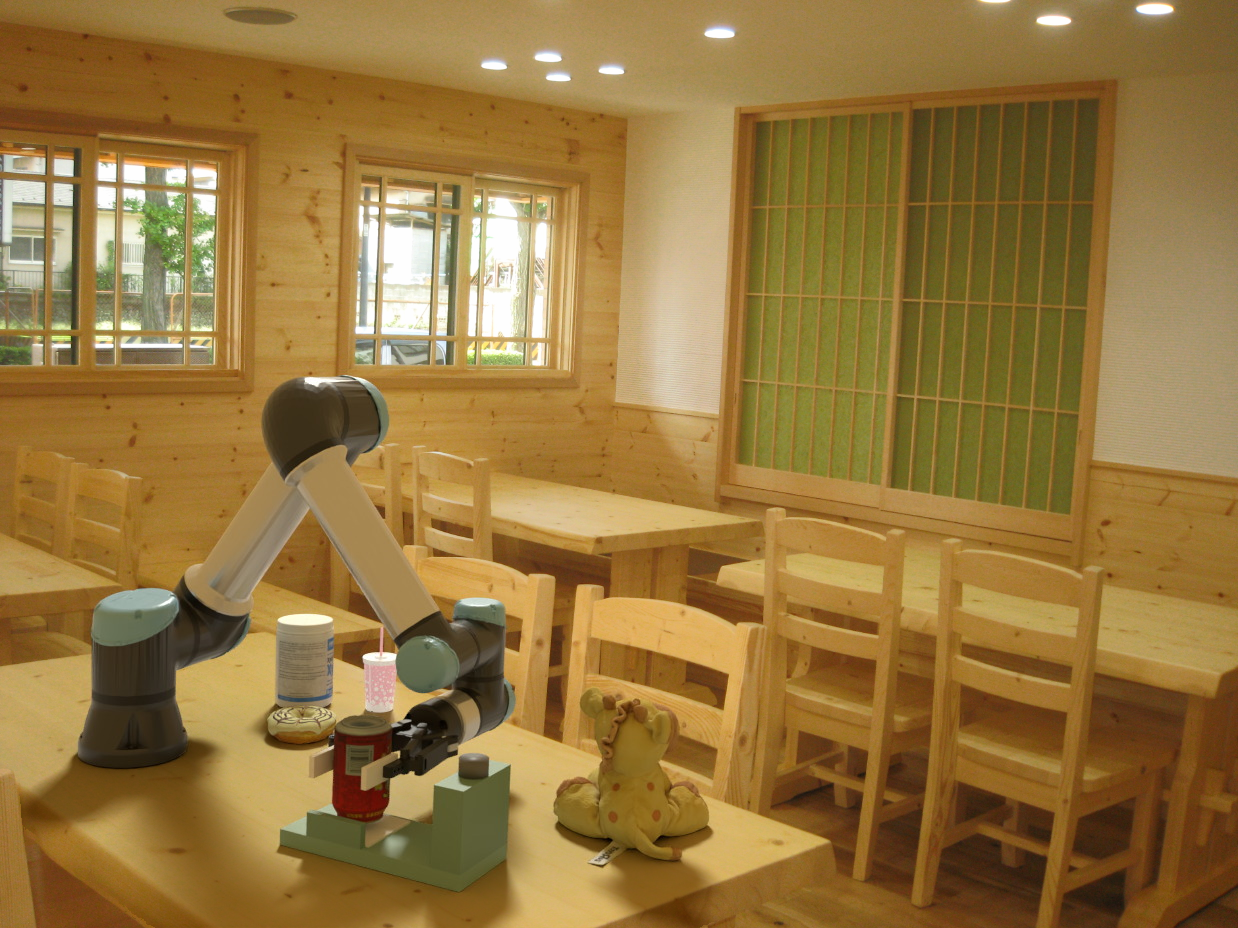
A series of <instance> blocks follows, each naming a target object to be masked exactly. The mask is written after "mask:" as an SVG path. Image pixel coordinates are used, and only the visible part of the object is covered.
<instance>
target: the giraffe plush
mask: <svg viewBox="0 0 1238 928" xmlns="http://www.w3.org/2000/svg"><path fill="white" fill-rule="evenodd" d="M579 708H580V709H581V711H582V712H583V714H584V715H586V716H588V717H590V718H591V719H594V720H595V721H594V726H593V727H594V728H593V729H594V731H593V732H594V737H595V742H596V745H597V748H598V751H599V753H600V755H601V762H600V763H599V765H598V767H596V768H595V769H593V770H592V771H591V772H589V774H588V775H587V777H584V776H575V777H574V778H571V779H570V778H567V779H564V780H563V781H562V782H561V784H559V786H558V788H557V789H556V793H555V794H556V797H555V799H554V800H553V801H554V802H553V811H552V812H553V814H554V815H555V816H556V817H557V820H558V821H559V823H560V824H561V825H563V826H564V827H565V828H567V829H569V830H570V831H572V832H574V833H577V834H580V835H583V836H586V837H589V838H594V839H608V838H609V839H611V840H612V841H611V842H610V843H609V844H608V845H607V846H606V847H604V848H603V849H602V850H600V852H598V853H597V854H596V855H595V856H593V857H592V858H590V859H588V861H587V864H588V865H589V864H590V865H595V866H605V865H606V864H608V863H610V862H611V861H613V860H614V859H615V858H616V857H618V856H620V855H621V854H623V853H624V852H625V851H626V850H627V849H635V850H638V851H639V852H641V853H642V854H643V855H646V856H648V857H650V858H653V859H657V860H663V861H671V862H672V861H674V862H675V861H677V860H680V859H681V858H682V857H683V851H682V849H680V848H678V847H674V846H664V847H660V846H657V845H655V844H654V843H655V842H656V840H657V839H658V838H659V837H660V836H664V837H676V836H677V837H681V836H684V835H688V834H689V835H690V834H692V833H695V832H697V831H698V830H702V829H704V828H705V827H707V826H708V824H709V822H710V811H709V808H708V804H707V803H706V801H705V800H704V798H703V797H702V796H701V795H700V792H699V788H698V786H696V784H694V783H693V782H692V781H689V780H683V781H678V782H675V783H673V782H672V780H671V779H670V777H669V775H668V773H667V771H666V770H665V769H663V768H662V766H661V764H660V761H661V760H662V759H663V757H664V755H666V754H668V753H670V752H672V751H674V749H675V748H676V746H677V744H678V741H679V738H680V730H681V729H680V728H681V727H680V724H679V723H680V722H679V720H678V717H677V714H675V712H674V711H673V710H672V709H671V708H670V707H669V706H666V705H664V704H660V703H657V702H652V701H650V700H648V699H644V698H640V697H631V698H630V697H629V698H624V699H621V700H618V701H617V700H616V698H615V696H613V695H612V694H609V693H605V694H604V692H603V690H602V689H600V687H598V686H590V687H588V688H587V689H586V690H584V691H583V693H582V694H581V696H580V698H579Z"/></svg>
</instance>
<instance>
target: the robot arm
mask: <svg viewBox="0 0 1238 928" xmlns="http://www.w3.org/2000/svg"><path fill="white" fill-rule="evenodd" d="M388 409H389V408H388V404H387V401H386V399H385V397H384V395H383V394H382V392H381V391H380V390H379V388H377V387H376V385H374V384H372V382H370V381H368V380H367V379H364V378H361V377H358V376H356V377H355V376H353V375H346V374H341V375H337V376H297V377H293V378H292V379H287V380H285V381H284V382H282V383H281V384H279V385H278V386H276V387H275V389H273V390H272V391H271V393H270V394H269V396H268V397H267V399H266V401H265V403H264V406H263V408H262V410H261V411H262V413H261V420H260V425H261V426H260V428H261V434H262V438H263V439H262V440H263V443H264V445H265V448H266V451H267V453H268V455H269V457H270V459H271V462H270V464H269V465H268V466H267V468H266V470H265V471H264V473H263V474H262V475H261V477H260V479H258V481H257V483H256V484H255V485H254V488H253V489H252V491H251V492H250V494H249V495H248V496H247V498H246V499H245V501H244V503H243V504H242V505H241V507H240V509H238V511H237V513H236V514H235V516H233V519H232V520H231V522H230V523H229V525H228V526H227V528H226V529H225V531H224V532H223V534H222V535H221V537H220V538H219V540H218V541H217V542H216V544H215V545H214V547H213V548H212V550H211V551H210V553H209V554H208V556H207V557H206V559H205V560H204V562H203V563H197V564H196V563H195V564H193V565H191V566H189V567H188V568H187V569H186V570H185V572H184V573H183V575H182V577H180V579H179V581H178V582H177V584H176V586H175V587H174V588H173V590H171V591H170V590H167V589H164V588H157V587H150V588H149V587H146V588H136V589H134V590H131V589H130V590H127V589H126V590H124V591H120V592H116V593H113V594H111V595H108V596H106V597H105V598H104V597H103V599H101V600H100V601H99V602H97V604H96V605H95V607H94V609H93V612H92V613H93V614H92V625H91V626H90V637H91V697H90V699H91V700H90V701H91V702H90V706H89V709H88V713H87V715H86V717H85V721H84V726H83V730H82V731H81V733H80V734H79V737H78V739H77V757H78V758H79V759H80V760H81V761H82V762H84V763H86V764H89V765H92V766H96V767H102V768H103V767H104V768H111V769H115V768H117V769H119V768H121V769H123V768H124V769H126V768H142V767H148V766H149V767H150V766H153V765H159V764H163V763H166V762H170V761H173V760H175V759H178V758H179V757H181V756H182V755H183V754H185V753H186V752H187V750H188V732H187V729H186V728H185V726H184V724H183V718H182V715H181V710H180V707H179V705H178V701H177V698H176V697H177V695H176V693H177V692H176V691H177V689H176V686H177V671H180V670H181V669H184V668H188V667H191V666H193V665H196V664H200V663H203V662H206V661H209V660H213V659H218V658H220V657H223V656H225V655H226V654H227V653H229V652H231V651H232V650H234V649H235V648H237V647H238V646H239V645H240V644H241V643H242V642H243V641H244V640H245V638H246V636H247V635H248V632H249V630H250V628H251V623H252V618H251V617H250V613H252V610H253V607H254V604H255V602H254V598H253V594H252V593H253V591H254V590H255V588H256V587H257V586H258V584H259V583H260V581H261V580H262V579H263V577H264V576H265V574H266V573H267V572H268V569H269V568H270V567H271V565H272V564H273V562H274V561H275V560H276V558H277V557H278V555H279V554H280V552H281V551H282V549H283V548H284V547H285V545H286V544H287V542H288V541H289V539H290V538H291V537H292V535H293V534H294V532H295V531H296V529H297V528H298V526H299V525H300V523H301V522H302V521H303V520H304V517H306V515H307V513H308V512H309V510H310V511H311V512H312V514H313V515H314V517H315V519H316V520H317V522H318V523H319V525H320V527H321V528H322V529H323V531H324V533H325V534H326V536H327V537H328V540H329V541H330V542H331V544H332V546H333V547H334V549H335V550H336V552H337V554H338V555H339V556H340V559H341V560H342V562H343V564H344V565H345V567H346V569H348V571H349V573H350V574H351V575H352V577H353V579H354V581H355V583H356V584H357V586H358V587H359V589H360V591H361V593H362V594H363V595H364V596H365V598H366V600H367V601H368V603H369V605H370V606H371V607H372V610H373V611H374V612H375V615H376V616H377V617H378V619H379V620H380V623H382V625H383V628H385V630H386V632H387V633H388V634H389V637H390V638H391V640H392V641H393V643H394V644H395V646H396V648H397V650H398V651H397V652H396V660H395V664H396V670H397V672H396V676H397V677H398V679H399V680H400V682H401V684H402V685H404V687H405V688H407V689H408V690H410V691H412V692H414V693H417V694H418V693H419V694H429V693H432V692H435V691H438V690H441V689H443V688H447V687H449V686H451V689H450V690H447V691H445V692H443V693H441V694H439V695H435V696H434V697H432V698H429V699H428V700H424V701H423V702H420V703H418V704H416V705H414V706H413V707H411V708H410V709H409V710H408V712H407V713H406V715H405V716H404V718H403V719H402V720H401V719H400V720H398V721H395V722H392V723H390V724H391V726H392V745H391V754H389V755H387V756H385V757H383V758H381V759H379V760H376V761H374V762H372V763H370V764H368V765H366V766H364V767H362V769H361V790H365V791H366V790H368V789H370V788H372V787H374V786H376V785H378V784H380V783H382V782H384V781H386V780H388V779H390V780H391V779H393V778H395V777H398V776H400V775H409V774H410V772H413V773H414V776H417V777H422V776H424V775H426V774H427V773H428V772H430V771H431V770H433V769H434V768H436V767H437V766H438V765H440V764H441V763H443V762H444V761H446V760H447V759H449V758H450V759H451V758H452V757H455V756H458V755H459V746H461V745H463V744H465V743H467V742H469V741H471V740H473V739H475V738H478V737H479V736H481V735H484V734H485V733H488V732H490V731H491V732H492V731H493V730H495V729H496V728H498V727H500V726H501V725H502V724H503V723H505V722H506V721H507V720H508V719H510V717H511V716H512V714H513V713H514V711H515V707H516V703H517V702H516V701H517V699H516V697H517V696H516V693H515V691H514V688H513V687H512V684H511V683H510V682H509V681H508V680H507V678H505V658H506V657H505V656H506V633H507V631H506V630H507V629H508V626H507V618H506V615H507V614H506V606H505V604H504V603H503V602H502V601H500V600H498V599H495V598H488V597H466V598H462V599H459V600H458V601H456V602H455V604H454V606H453V614H452V616H451V618H452V622H449V621H448V620H447V618H446V617H445V615H444V614H443V613H442V611H441V610H440V607H439V606H438V605H437V603H436V602H435V600H434V598H433V597H432V595H431V593H430V592H429V590H428V589H427V587H426V585H425V584H424V583H423V581H422V579H421V578H420V576H419V574H418V573H417V571H416V569H415V568H414V566H413V565H412V563H411V562H410V560H409V558H408V556H407V555H406V553H405V552H404V550H403V549H402V547H401V546H400V544H399V543H398V541H397V539H396V538H395V536H394V535H393V533H392V531H391V530H390V528H389V526H388V525H387V524H386V522H385V520H384V519H383V517H382V516H381V514H380V512H379V510H378V508H377V507H376V506H375V504H374V503H373V501H372V500H371V498H370V496H369V494H368V493H367V491H366V490H365V489H364V486H363V485H362V484H361V482H360V480H359V478H358V477H357V476H356V474H355V472H354V470H353V469H352V467H353V465H354V464H355V462H356V461H357V459H358V458H359V457H360V455H362V454H367V453H370V452H371V451H373V450H374V449H376V448H378V447H379V446H380V445H381V444H382V443H383V441H384V440H385V438H386V436H387V435H388V431H389V426H390V414H389V410H388ZM397 752H399V754H398V753H397ZM308 759H309V761H308V778H310V779H315V778H316V779H317V778H318V777H320V776H322V775H325V774H326V773H329V772H330V771H333V759H334V733H332V734H330V735H329V736H328V747H326V748H324V749H321V750H320V751H317V752H315V753H313V754H311V755H309V758H308Z"/></svg>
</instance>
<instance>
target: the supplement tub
mask: <svg viewBox="0 0 1238 928" xmlns="http://www.w3.org/2000/svg"><path fill="white" fill-rule="evenodd" d="M276 623H277V624H276V631H275V682H274V683H275V687H274V689H275V690H274V692H275V693H274V695H275V698H274V700H275V703H276V705H277V706H279V707H280V708H284V707H288V706H318V707H323V708H326V707H327V706H329V705H330V704H331V703H332V701H333V696H334V695H333V694H334V691H333V690H334V689H333V688H334V650H335V649H334V648H335V647H334V646H335V644H334V643H335V626H334V618H333V617H331V616H329V615H324V614H318V613H317V614H315V613H300V614H299V613H297V614H296V613H295V614H289V615H284V616H281V617H279V618H278V619H277V622H276Z"/></svg>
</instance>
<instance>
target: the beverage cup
mask: <svg viewBox="0 0 1238 928" xmlns="http://www.w3.org/2000/svg"><path fill="white" fill-rule="evenodd" d="M379 633H380V634H379V637H380V639H379V652H370V653H365V654H363V656H362V663H363V664H364V665H363V669H364V670H363V671H364V672H363V673H364V699H365V700H364V701H365V702H364V703H365V709H366V711H368V712H371V711H373V712H372V713H386V712H387V713H388V712H390V711H393V709H394V701H395V691H396V681H397V673H396V672H397V670H396V664H395V660H396V655H397V653H393V652H384V647H383V646H384V626H383V627H382V626H381V627H380V632H379Z"/></svg>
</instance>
